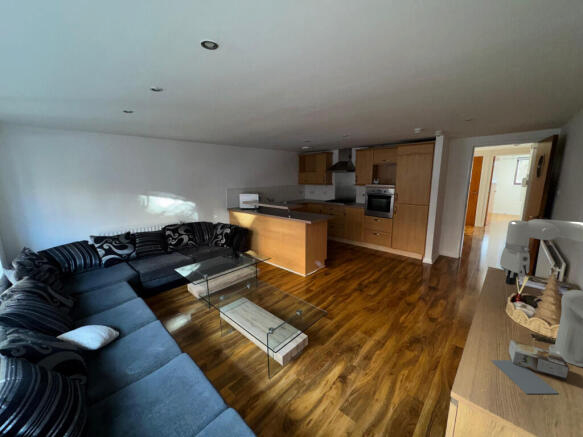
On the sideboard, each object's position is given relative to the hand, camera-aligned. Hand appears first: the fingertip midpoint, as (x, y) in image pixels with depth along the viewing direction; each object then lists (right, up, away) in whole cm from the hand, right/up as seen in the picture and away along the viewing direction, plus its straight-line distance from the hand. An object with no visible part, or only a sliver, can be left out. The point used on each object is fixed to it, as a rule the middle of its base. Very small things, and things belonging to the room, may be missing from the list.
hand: (510, 284), depth 109 cm
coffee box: (-4, -29, -5) cm, 30 cm away
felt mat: (-9, -34, -14) cm, 38 cm away
